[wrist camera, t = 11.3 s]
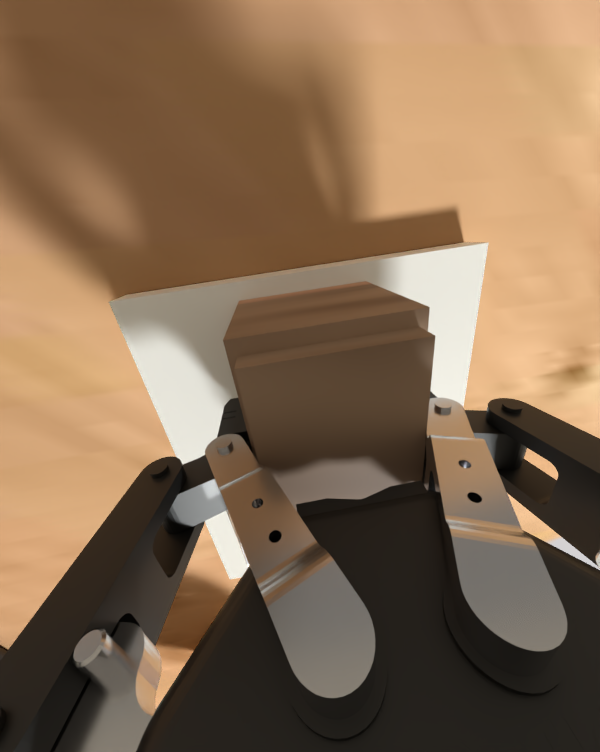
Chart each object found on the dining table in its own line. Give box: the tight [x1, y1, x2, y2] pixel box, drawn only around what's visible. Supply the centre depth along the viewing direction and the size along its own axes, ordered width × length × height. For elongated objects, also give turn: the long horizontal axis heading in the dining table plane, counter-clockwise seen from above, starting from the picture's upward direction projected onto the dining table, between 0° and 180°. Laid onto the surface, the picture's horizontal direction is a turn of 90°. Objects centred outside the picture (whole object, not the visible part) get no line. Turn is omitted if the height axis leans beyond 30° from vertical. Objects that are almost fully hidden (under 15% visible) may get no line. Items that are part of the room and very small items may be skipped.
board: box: [109, 242, 488, 579], centre depth 17 cm, size 20×16×2 cm
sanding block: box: [223, 281, 435, 511], centre depth 11 cm, size 9×6×6 cm, turn 8°
